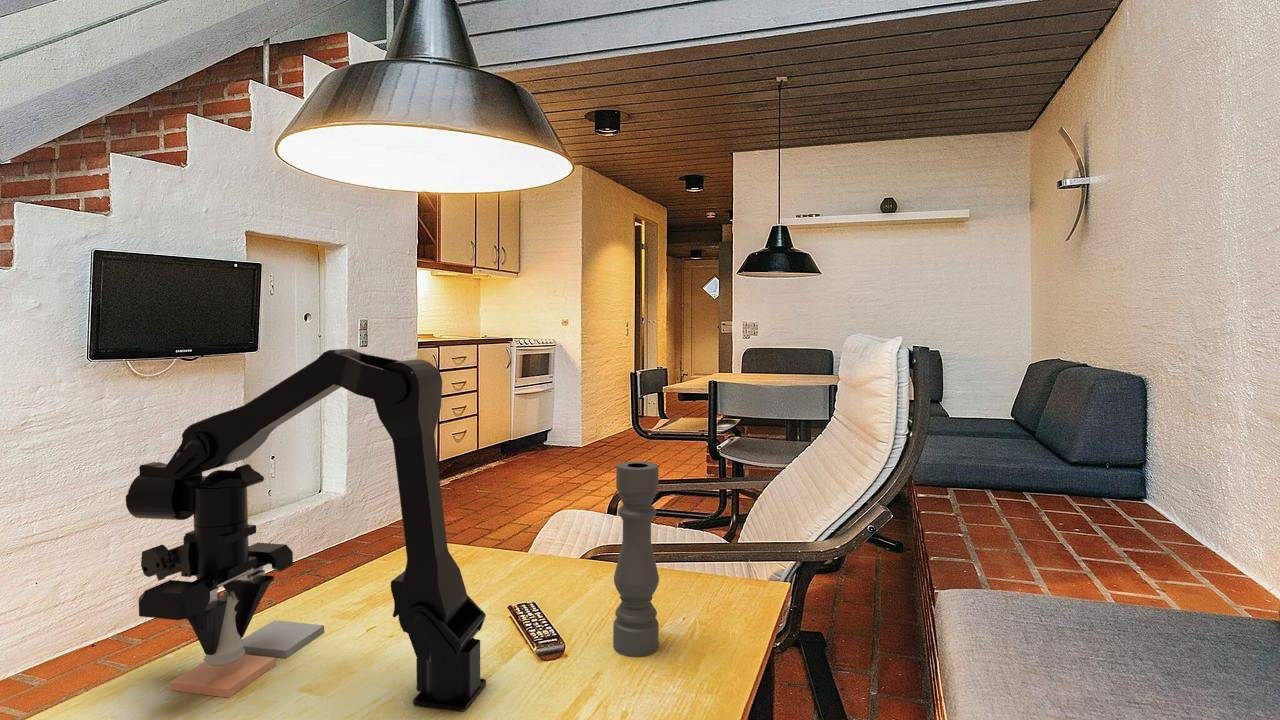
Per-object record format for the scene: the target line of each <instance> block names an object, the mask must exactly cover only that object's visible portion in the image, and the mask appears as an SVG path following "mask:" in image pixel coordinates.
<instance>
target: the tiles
mask: <svg viewBox="0 0 1280 720" xmlns="http://www.w3.org/2000/svg"><path fill="white" fill-rule="evenodd" d="M324 633H325V625H323V624H317V623H314V624H313V623H305V622H295V621H284V620H276V619H275V620H272V621H270V622H268V623H267V624H265V625H264V626H262V627H260V628H258V629H257V630H255V631H253V632H252V633H250V634H248V635H247V636H245V637H242V638H241V639H242V640H243V641H244V644H245V645H244V646H243V648H244V650H245V653H244V655H243V656H242V658H241V659H239V660H238V661H236V662H234V663H231V664H228V665H223V666H211V665H208V664H207V663H206V662H205V661H204V660H203V662H201V663H200V664H198V665H196V666H195V667H193V668H191V669H189V670H188V671H186V672H184V673H183V674H181V675H179V676H178V677H176V678H174V679H172V680H170V681H169V690H170V691H173V692H180V691H181V692H180V693H187V694H189V693H190V694H196V695H204V696H206V695H207V696H213V697H220V698H230V697H231V696H233V695H235V694H236V693H238V692H239V691H241V690H242V689H243V688H245V687H246V686H248V685H249V684H251V683H252V682H253V681H255V680H256V679H258V678H260V677H261V676H263V675H264V674H266V672H268V671H270V670H271V669H272V668H274V667H276V666H277V665H276V663H277V661H276V658H280V659H287V658H289V657H290V656H292V655H294V654H295V653H296V652H297V651H300V649H302V648H303V647H305V646H306V645H307V644H309V643H311V642H312V641H314V640H315V639H316V638H318V637H319V636H321V635H322V634H324Z"/></svg>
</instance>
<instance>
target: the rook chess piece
mask: <svg viewBox="0 0 1280 720" xmlns="http://www.w3.org/2000/svg"><path fill="white" fill-rule="evenodd" d="M217 600H218V601H227V605H226V610H225V615H224V619H223V624H222V629H221V633H220V638H219V643H218V646H217V649H216V653H215V654H213V655H207V654H205V652H204V651H203V652H204V654H205V656H204V658H203V662H204V661H205V662H206V663H207V664H208V665H211V666H223V665H228V664H231V663H234V662H236V661H238V660H239V659H241V658H242V656H243V655H244V653H245V650H244V648H243V646H244V645H245V644H244V641H243V640H242V639H243V638H240V635H239V634H238V632H237V628H236V622H235V615H236V614H237V612H236V611H235V606H236V604H237V603H238V601H239V600H238V599H237V598H236V597H235V594H234V592H230V595H229V594H228V591H223V595H221V593H220V592H217Z"/></svg>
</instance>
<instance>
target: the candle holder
mask: <svg viewBox="0 0 1280 720" xmlns="http://www.w3.org/2000/svg"><path fill="white" fill-rule="evenodd" d="M615 468H616V469H615V470H616V471H615V473H616V474H615V475H616V476H615V479H616V481H615V485H616V487H615V488H616V490H617V491H618V493H617V494H618V496H619V498H620V500H621V503H622V505H621V506H620V507H618V509H617V514H618V516H619V517H620V518H621V520H622V541H621V542H622V543H621V546H620V551H619V555H618V559H617V562H616V567H615V571H614V575H613V583H614V586H615V589H616V590H617V593H618V594H619V595H620V596H619V599H620V601H621V602H620V603H619V605H618V606H617V608H616V609H615V613H614V614H615V619H614V620H613V625H612V626H613V627H612V628H613V629H612V633H613V634H612V638H613V639H612V647H613V650H614V652H616V653H618V654H620V655H622V656H625V657H633V658H641V657H647V656H650V655H653V654H654V653H656V652H657V651H658V650H659V639H660V638H659V635H660V634H659V626H660V625H659V624H660V623H659V622H658V621H659V620H658V619H657V618H656V617H657V615H658V611H657V609H656V608H655V607H654V605H653V603H652V600H653V598H654V597H653V595H654V594H655V592H656V590H657V588H658V586H659V582H660V575H659V571H658V567H657V563H656V558H655V554H654V549H653V544H652V520H653V518H655V516H656V515H657V509H656V508H655V507H654V506H653V505H652V503H653V502H654V499H655V497H656V495H657V491H658V490H659V465H658V464H657V463H654V462H650V461H641V460H640V461H623V462H620V463H617V464H616V467H615Z"/></svg>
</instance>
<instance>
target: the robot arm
mask: <svg viewBox="0 0 1280 720" xmlns="http://www.w3.org/2000/svg"><path fill="white" fill-rule="evenodd" d="M341 388H343V389H345V390H347V391H349V392H351V393H353V394H355V395H357V396H360V397H364V398H368V399H371V400H373V403H374V405H375V409H376V413H377V415H378V419H379V421H380V422H381V424H382V425H383V427H384V429H385V430H386V432H387V433H388V434H389V435H388V436H390V438H391V441H392V443H393V454H394V462H395V470H396V479H397V487H398V493H399V502H400V510H401V518H402V519H401V520H402V528H403V535H404V543H405V544H404V545H405V554H406V565H405V568H404V569H405V570H404V571H403V572H401V573H400V574H398V576H396V577H395V578H393V579H392V580H391V581H390V590H391V594H392V599H393V603H394V609H393V614H392V617H393V618H397V617H398V622H399V626H400V628H401V630H402V632H404V633H406V634H407V635H408V637H409V640H410V643H411V646H412V649H413V651H414V654H415V657H416V663H415V664H416V672H415V673H416V691H417V692H419V693H418V694H416V696H415V697H414V698H413V699H412V701H413V702H412V703H413V705H415V706H422V707H431V708H438V709H439V708H440V709H446V710H448V709H449V710H456V711H464V710H466V709H467V708H468V707H469V705H471V703H472V702H473V701H474V700H475V698H476V697H477V696H478V695H479V693H480V692H481V691H482V690H483V689H484V688H485V686H487V680H486V678H481V639H478V638H477V639H476V638H475V636H476V635H477V634H478V632H480V631H481V630H482V627H483V624H484V623H485V619H486V617H487V615H486V613H485V612H484V611H483V610H482V608H480V606H478V604H477V603H476V602H475V601H474V600H473V599H472V598H471V597H470V596H469V595H468V593H467V589H466V586H465V583H464V579H463V576H462V572H461V569H460V567H459V565H458V564H457V562H456V561H455V559H454V558H453V556H452V554H451V553H450V551H449V548H448V541H447V539H448V538H447V533H446V532H447V531H446V524H445V523H446V522H445V514H444V505H443V496H442V489H441V479H440V472H439V471H440V470H439V463H438V454H437V448H436V447H437V445H436V438H435V432H436V428H437V424H438V420H439V417H440V413H441V409H442V397H443V395H442V394H443V393H442V392H443V379H442V375H441V372H440V371H439V369H438V368H437V367H436V366H435V365H433V363H431V362H430V361H428V360H424V359H421V358H420V359H418V358H417V359H407V360H398V359H393V358H388V357H382V356H377V355H371V354H367V353H364V352H360V351H357V350H355V349H352V348H340V349H329V350H326V351H324V352H322V354H320V356H319V357H318V358H317V359H315V360H313V361H311V362H310V363H309V364H307V365H306V366H305V367H303V368H300V369H299V370H298V371H296V372H294V373H293V374H291V375H290V376H289V377H287V378H285V379H284V380H282V381H280V382H278V383H277V384H275V385H274V386H272V387H270V388H269V389H268V390H266V391H264V392H263V393H261V394H260V395H258V396H256V397H255V398H253V399H252V400H250V401H248V402H247V403H246V404H244V405H241V406H239V407H237V408H233V409H230V410H228V411H224V412H221V413H218V414H214V415H212V416H210V417H207V418H204V419H202V420H199V421H197V422H194V423H192V424H190V425H189V426H187V427H186V428H185V429H184V430H183V432H182V434H181V437H182V440H181V444H180V445H179V446H178V448H177V449H176V451H175V453H174V454H173V455H172V456H171V459H170V460H169V461H168V463H164V462H160V461H158V462H157V461H155V462H154V461H152V462H149V463H144V464H141V465H139V467H138V469H139V475H137V476H136V477H135V478H134V479H133V481H132V482H131V484H130V486H129V488H128V491H127V494H126V495H125V504H126V505H125V506H126V508H127V511H128V512H129V513H130V515H131V516H133V517H135V518H136V519H137V518H138V519H149V520H151V519H152V520H174V521H185V520H188V519H189V518H191V517H192V516H193V530H191V531H188V532H186V533H185V532H184V533H185V535H184V536H183V544H180V545H177V546H176V547H175V546H174V547H172V548H169V549H168V547H166V545H164V544H160V545H157V546H155V547H151V548H149V549H145V550H143V551H141V559H140V567H141V571H142V573H143V575H144V576H146V578H151V577H153V576H156V579H157V581H158V582H159V581H162V580H165V579H166V577H169V576H173V575H176V574H178V573H180V574H181V575H180V577H182V578H183V577H184V578H185V577H186V578H190V577H196V578H195V580H193V581H187V580H174V579H169V580H167V581H165V582H162V583H160V584H158V585H155V586H153V587H150V588H148V589H146V590H145V589H144V590H145V591H144V592H143V593H141V595H139V597H138V616H139V617H142V618H150V619H151V618H153V619H162V620H171V621H172V620H173V621H181V620H187V621H188V623H189V624H190V626H191V628H192V630H193V632H194V633H195V636H196V637H197V640H198V642H199V644H200V646H201V649H202V650H203V652H205V653H204V654H205V655H206V654H207V655H213V654H215V653H216V649H217V646H218V643H219V638H220V633H221V629H222V624H223V619H224V615H225V610H226V605H227V601H218V600H217V593H218V591H219V588H220V587H223V589H224V590H225V592H227V591H228V595H230V592H234V594H235V597H236V598H237V599H238V600H239V601H238V603H237V604H236V606H235V611H236V612H237V614H236V615H235V622H236V628H237V632H238V634H239V635H240V638H241V639H243V638H244V636H245V634H246V632H247V630H248V628H249V625H250V624H251V621H252V619H253V617H254V616H255V615H254V614H255V612H256V611H257V609H258V606H259V604H260V603H261V602H262V599H263V598H264V595H265V594H266V591H267V590H268V588H269V586H270V584H271V583H273V582H274V581H275V576H274V575H268V574H267V575H266V570H264V567H265V566H267V565H271V568H272V569H273V570H274V571H275V572H278V573H279V572H282V571H284V570H286V569H289V568H290V567H293V565H294V560H293V559H294V557H293V555H294V552H293V550H292V549H291V548H290V547H289V545H288V544H284V543H282V544H281V543H267V542H256V543H254V544H251V545H249V537H250V536H252V535H255V534H257V524H249V515H248V514H249V513H248V512H249V511H248V509H249V508H248V505H249V504H248V488H249V487H251V486H254V485H256V484H261V483H263V482H264V480H265V477H264V476H263V475H262V474H261V473H260V472H258V471H257V470H255V469H254V468H252V466H251V464H249V463H247V464H244V465H240V466H237V467H235V469H234V470H231V469H230V470H229V469H228V470H225V469H224V470H223V469H218V468H222V467H225V466H226V465H230V464H234V463H238V462H241V461H243V460H246V459H248V458H249V457H250V456H251V455H252V454H253V453H255V452H256V450H258V449H259V448H260V447H261V446H262V445H263V444H264V443H265V442H266V441H267V440H268V439H269V436H270V434H271V433H272V432H273V431H274V430H275V429H276V428H278V426H280V425H282V424H284V423H286V422H287V421H289V420H291V418H293V417H295V416H296V415H298V414H300V413H301V412H303V411H305V410H306V409H308V408H310V407H311V406H314V405H315V404H317V403H318V402H319V401H321V400H323V399H324V398H326V397H327V396H329V395H331V394H332V393H334V392H335V391H337V390H339V389H341ZM214 469H217V470H215V471H212V472H210V473H209V474H208V475H207V476H205V475H203V473H204V472H208V471H211V470H214Z"/></svg>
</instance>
